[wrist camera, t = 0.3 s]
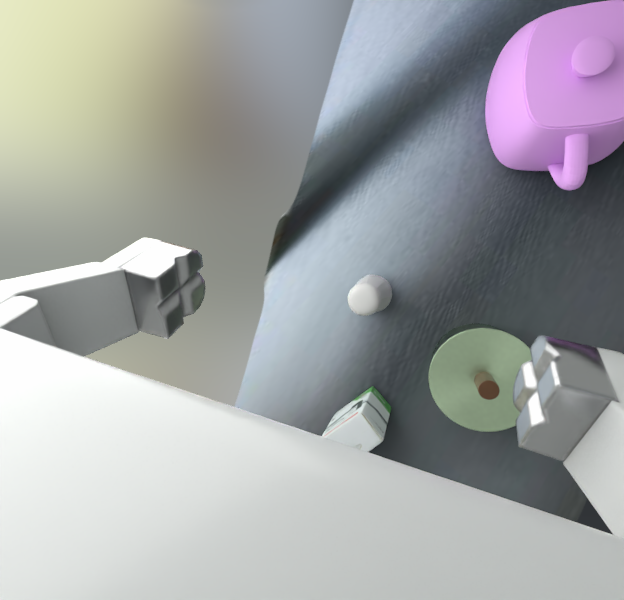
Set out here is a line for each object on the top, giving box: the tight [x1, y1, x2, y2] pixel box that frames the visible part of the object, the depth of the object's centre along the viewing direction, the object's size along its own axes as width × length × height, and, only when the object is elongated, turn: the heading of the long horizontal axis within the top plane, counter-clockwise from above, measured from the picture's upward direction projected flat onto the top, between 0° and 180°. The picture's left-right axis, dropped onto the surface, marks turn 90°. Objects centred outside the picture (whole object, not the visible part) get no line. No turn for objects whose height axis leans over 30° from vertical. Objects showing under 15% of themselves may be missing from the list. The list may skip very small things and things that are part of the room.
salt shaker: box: [348, 274, 392, 316], centre depth 55 cm, size 6×6×13 cm
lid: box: [429, 328, 532, 432], centre depth 50 cm, size 14×14×5 cm
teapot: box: [485, 0, 624, 190], centre depth 45 cm, size 23×21×15 cm
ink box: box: [322, 386, 391, 452], centre depth 58 cm, size 9×5×12 cm, turn 131°
